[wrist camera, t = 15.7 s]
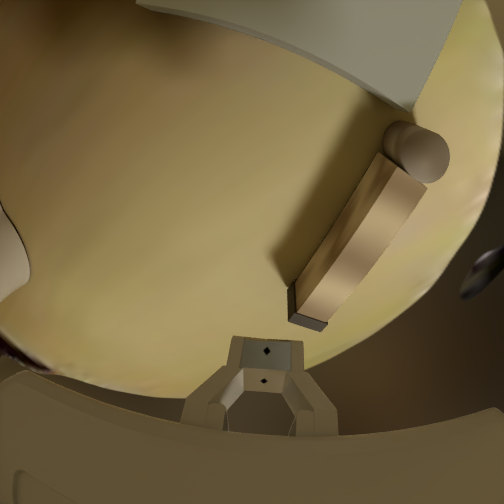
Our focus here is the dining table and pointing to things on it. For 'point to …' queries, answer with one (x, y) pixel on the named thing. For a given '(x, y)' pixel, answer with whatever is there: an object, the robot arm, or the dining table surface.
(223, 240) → the dining table surface
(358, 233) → the hinged leg
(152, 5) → the stool seat
